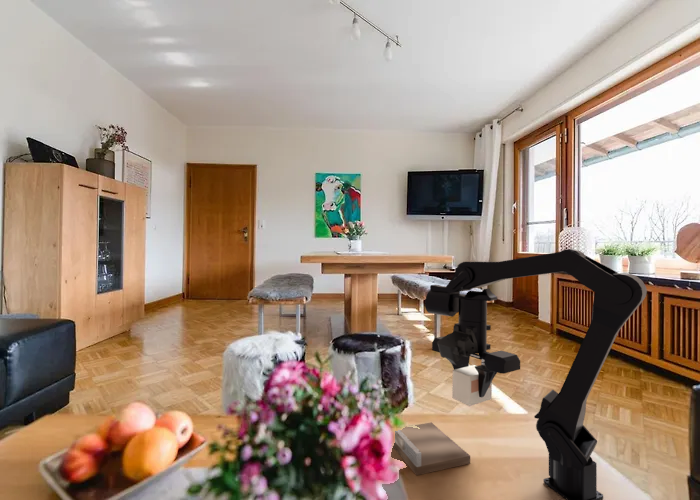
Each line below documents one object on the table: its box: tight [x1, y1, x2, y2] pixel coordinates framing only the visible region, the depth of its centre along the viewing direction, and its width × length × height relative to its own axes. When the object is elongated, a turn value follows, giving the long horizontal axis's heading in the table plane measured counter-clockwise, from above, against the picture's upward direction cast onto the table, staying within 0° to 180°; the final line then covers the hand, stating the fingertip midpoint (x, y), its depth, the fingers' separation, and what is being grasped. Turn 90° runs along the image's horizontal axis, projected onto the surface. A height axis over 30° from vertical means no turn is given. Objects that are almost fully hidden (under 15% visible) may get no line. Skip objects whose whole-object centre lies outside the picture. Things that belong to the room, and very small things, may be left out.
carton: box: [451, 364, 493, 407], centre depth 73 cm, size 5×7×6 cm, turn 121°
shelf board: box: [392, 421, 471, 476], centre depth 71 cm, size 14×12×4 cm
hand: (471, 392), depth 73 cm, fingers closed on carton, 5 cm apart
